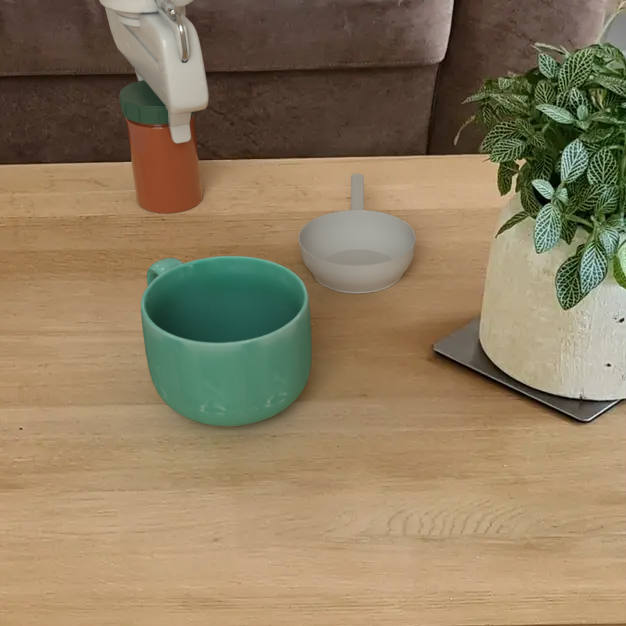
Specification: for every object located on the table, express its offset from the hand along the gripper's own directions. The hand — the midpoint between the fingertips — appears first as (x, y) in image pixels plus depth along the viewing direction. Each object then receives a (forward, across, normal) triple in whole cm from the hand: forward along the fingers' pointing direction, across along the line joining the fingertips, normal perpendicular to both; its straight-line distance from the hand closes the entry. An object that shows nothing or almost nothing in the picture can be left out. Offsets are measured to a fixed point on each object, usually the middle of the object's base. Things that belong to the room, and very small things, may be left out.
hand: (167, 124), depth 115 cm
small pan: (+8, -18, -12) cm, 23 cm away
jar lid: (-3, 0, +1) cm, 3 cm away
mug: (+8, -34, +7) cm, 36 cm away
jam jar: (+8, 0, +1) cm, 8 cm away
